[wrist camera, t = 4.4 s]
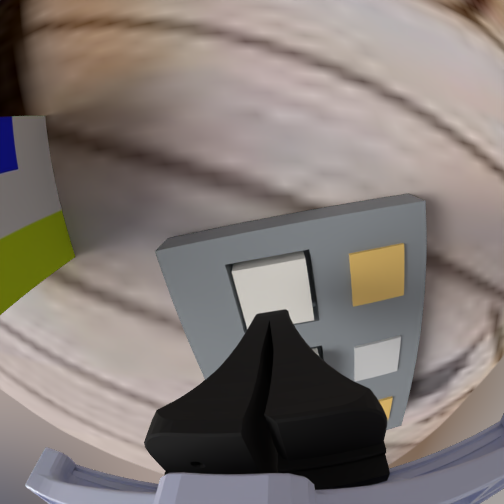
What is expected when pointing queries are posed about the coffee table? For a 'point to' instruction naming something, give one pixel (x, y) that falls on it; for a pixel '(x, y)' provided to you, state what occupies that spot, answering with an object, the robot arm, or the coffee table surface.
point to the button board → (317, 288)
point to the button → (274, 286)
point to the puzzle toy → (28, 210)
